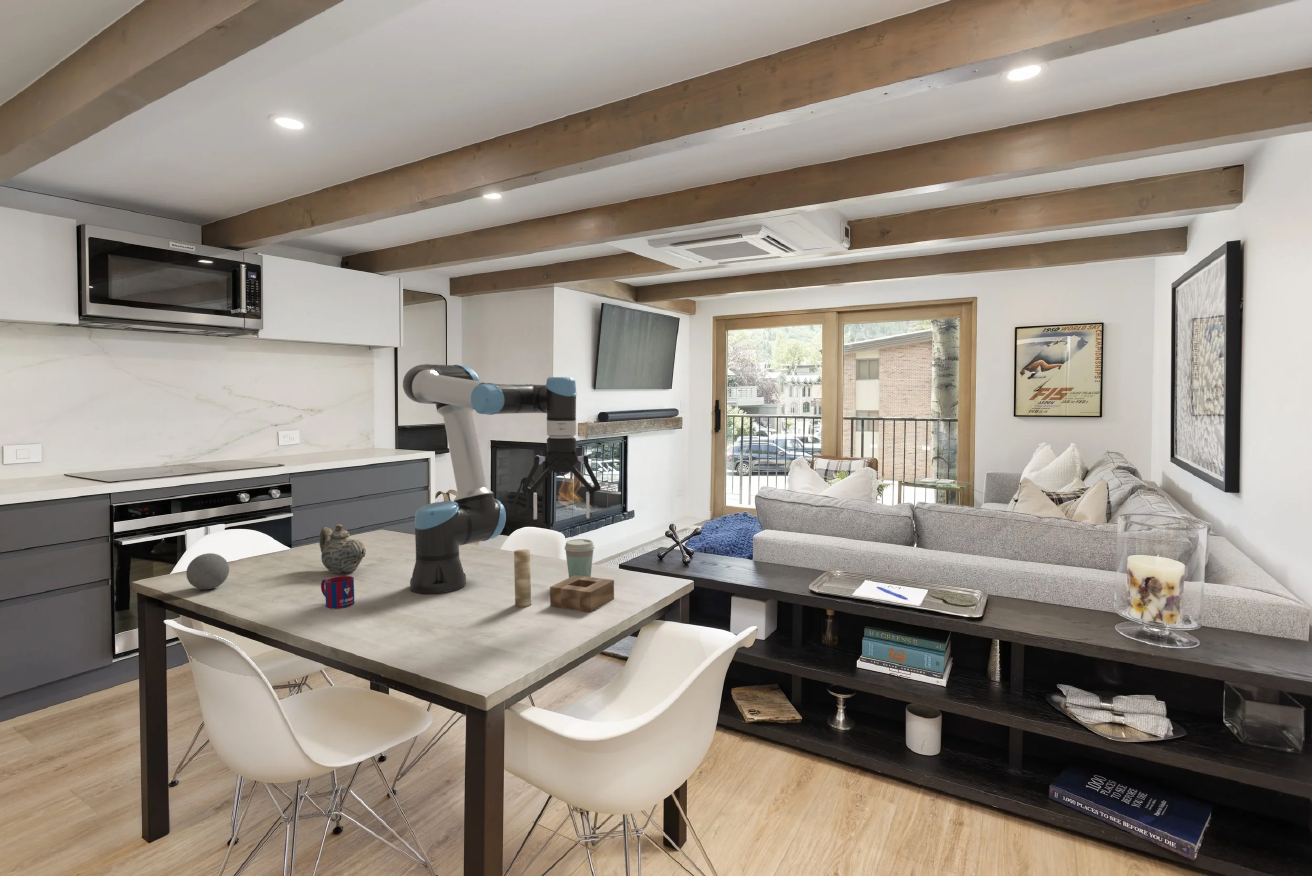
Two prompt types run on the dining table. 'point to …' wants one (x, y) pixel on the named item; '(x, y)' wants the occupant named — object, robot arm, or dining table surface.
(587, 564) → the coffee cup
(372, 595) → the dining table surface
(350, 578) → the cup
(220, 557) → the decorative ball
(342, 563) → the teapot
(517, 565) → the peg
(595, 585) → the socket
